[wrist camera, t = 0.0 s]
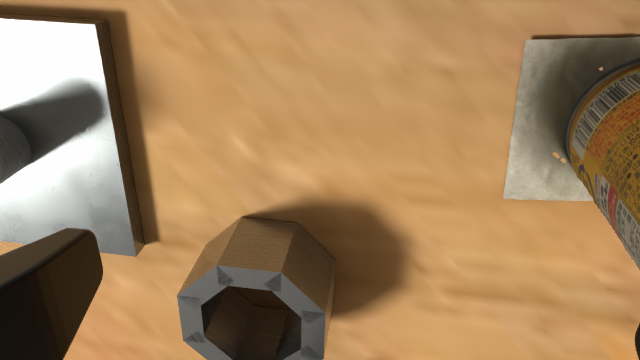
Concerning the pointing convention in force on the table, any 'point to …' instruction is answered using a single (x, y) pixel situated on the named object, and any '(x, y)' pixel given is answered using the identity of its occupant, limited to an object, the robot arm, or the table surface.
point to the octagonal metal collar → (265, 274)
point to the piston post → (63, 135)
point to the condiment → (580, 129)
